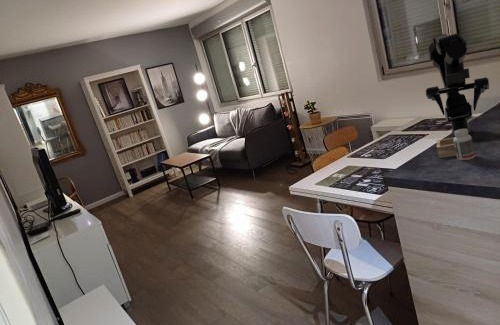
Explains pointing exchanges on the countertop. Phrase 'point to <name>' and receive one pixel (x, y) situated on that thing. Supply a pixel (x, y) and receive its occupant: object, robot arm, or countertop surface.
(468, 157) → the pill bottle
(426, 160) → the countertop surface
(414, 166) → the countertop surface
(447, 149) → the birch socket stand
